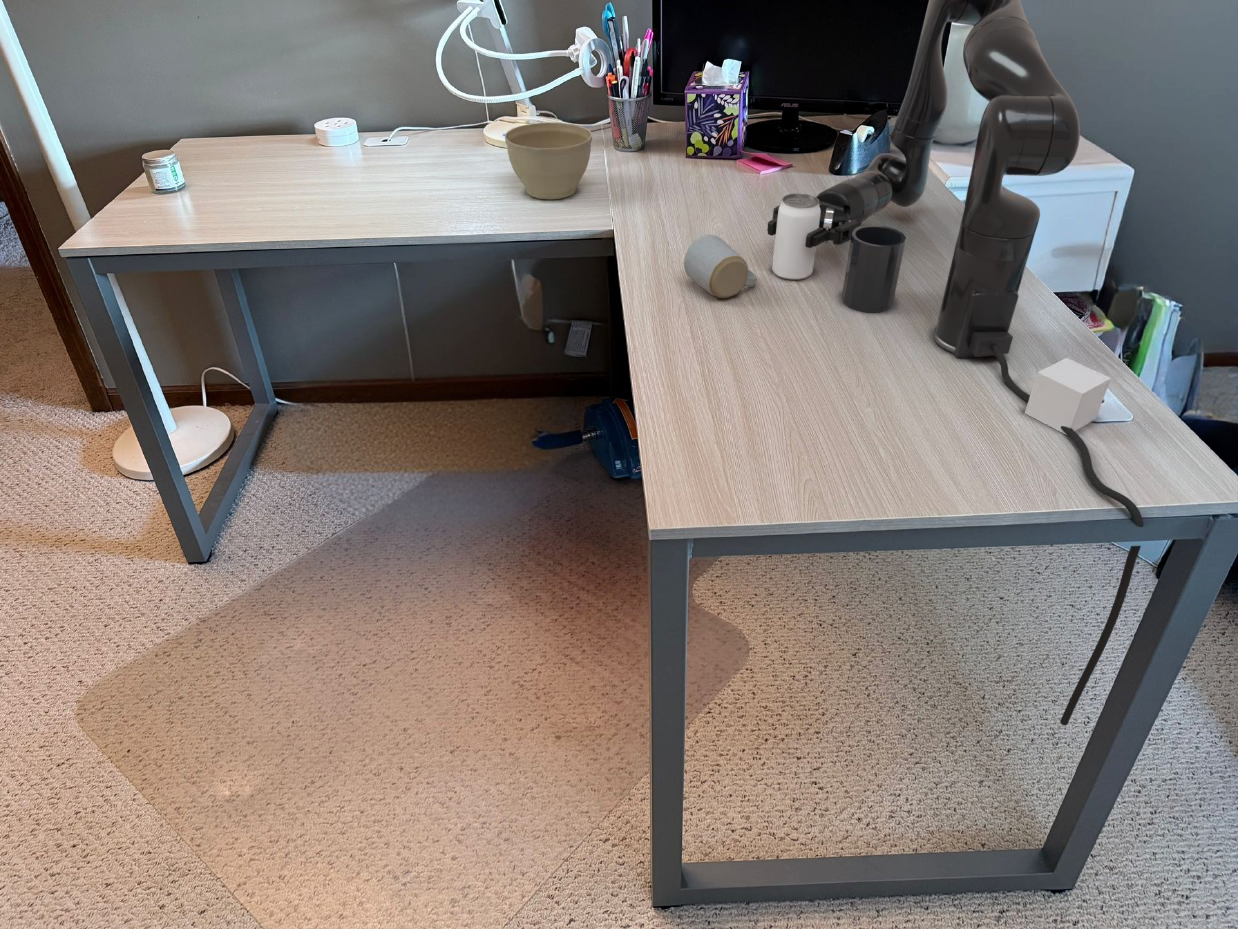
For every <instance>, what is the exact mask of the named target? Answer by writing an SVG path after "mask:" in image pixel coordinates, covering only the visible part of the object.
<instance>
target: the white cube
mask: <svg viewBox="0 0 1238 929" xmlns="http://www.w3.org/2000/svg"><path fill="white" fill-rule="evenodd" d="M1111 379H1112V377H1109V376H1108V375H1105V374H1103V373H1101V372H1098V371H1097V370H1094V369H1092V368H1089V367H1088V366H1086V365H1083V364H1081V363H1079V362H1076V361H1074V360H1072V359H1070V358H1068V357H1065V358H1062V359H1061V360H1059V361H1057V362H1055V363H1053V364H1051V365H1049V366H1047V367H1045V368H1044V369H1041V370H1040V371H1038V372H1036V376H1035V380H1034V382H1033V386H1032V389H1031V392H1030V394H1029V395H1030V398H1029V401H1028V402H1027V404H1026V408H1025V411H1024V414H1025V415H1027V416H1029V417H1031V418H1033V419H1034V420H1037V421H1039V422H1040V423H1042V424H1045V425H1046V426H1048V427H1050V428H1052V429H1054V430H1055V431H1058V432H1060V433H1062V434H1064V435H1065V436H1068V435H1067V434H1066V433H1065V432H1064V431H1063V430H1062V429H1061V428H1060V427H1061V426H1066V427H1068V428H1072V429H1073V430H1074V431H1075V432H1077V430H1078V431H1079V430H1080V429H1082V428H1083V427H1085V426H1086V425H1088V424H1090V423H1092V422H1094V421H1095V420H1096V419H1097V417H1098V414H1099V411H1100V409H1101V406H1102V404H1103V401H1104V398H1105V395H1106V393H1107V391H1108V388H1109V385H1110V382H1111Z"/></svg>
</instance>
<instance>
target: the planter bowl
mask: <svg viewBox="0 0 1238 929" xmlns="http://www.w3.org/2000/svg"><path fill="white" fill-rule="evenodd" d="M504 140H505V145H506V149H507V150H506V151H507V155H508V159H509V162H510V165H511V167H512V170H513V172H514V174H515V175H516V177H517V178H518V180H519V181H520V183H521V184H522V185H523V186H524V189H525V192H526V194H527V195H528V196H530V197H533V198H536V199H540V200H541V199H542V200H559V199H564V198H567V197H570V196H572V195H574V194H575V192H576V189H577V185H578V183H579V182H580V181H581V180H582V179H583V176H584V174H585V172H586V171H587V168H588V165H589V161H590V157H591V148H592V141H593V133H592V131H591V130H590V129H588V128H586V127H584V126H581V125H577V124H574V123H573V124H572V123H566V122H554V121H553V122H552V121H550V122H535V123H528V124H523V125H518V126H516V127H513V128H511V129H509V130H507V131H506V133H505V135H504Z"/></svg>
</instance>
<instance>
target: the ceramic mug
mask: <svg viewBox="0 0 1238 929" xmlns="http://www.w3.org/2000/svg"><path fill="white" fill-rule="evenodd" d="M683 269H684V272H685V274H686V275H687V277H688V278H689V279H690V280H692V281H693V282H694V283H695V284H697V285H698V286H700V287H701V288H702V289H703V290H705V291H706V292H707V293H708V294H710V295H711V296H714V297H716V298H718V299H728V298H731V297H733V296H735V295H737V294H738V293H739V292H740V291H741V290H742V289H743V288H744V287H748V288H752V287H754V286H755V284H756V282H757V280H758V277H757V276H758V275H756V274H755V273H754V272H752V271H751V270H749V267H748V264H747V261H746V260H745V259H744V258H743V256H742V255H741V254H740V253H739V252H738V251H736V250H735V249H734V248H733V247H732V246H730V245H729V244H728V243H727V242H726V241H725V240H723V239H722V238H721V237H719V236H717V235H715V234H705V235H702V236H700V237H699V238H697V239H695V240H694V241H693V242H692V243H691V244H690V246H689V247H688V249H687V250H686V252H685V255H684V259H683Z"/></svg>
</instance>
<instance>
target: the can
mask: <svg viewBox="0 0 1238 929" xmlns="http://www.w3.org/2000/svg"><path fill="white" fill-rule="evenodd" d="M781 200H782V202H781V203H780V204H779V205H780V207H779V210H778V218H777V227H776V234H775V237H774V238H775V239H774V248H773V258H772V265H771V266H772V268H771V270H772V272H773V274H774V275H776V277H779V278H781V279H783V280H789V281H801V280H805V279H807V278H809V277H810V276H811V275H812V274H813V271H814V265H815V257H816V250H817V246H813V247H812V248H807V247H806V246H805V244H806V237H807V234H808V233H810V232H812V231H814V230H816V229H818V228H819V221H820V213H821V210H820V207H819V199H818V198H817V196H815V195H812V194H808V193H801V192H800V193H799V192H797V193H789V194H786V195H784V196H783V197H782V199H781Z"/></svg>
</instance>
